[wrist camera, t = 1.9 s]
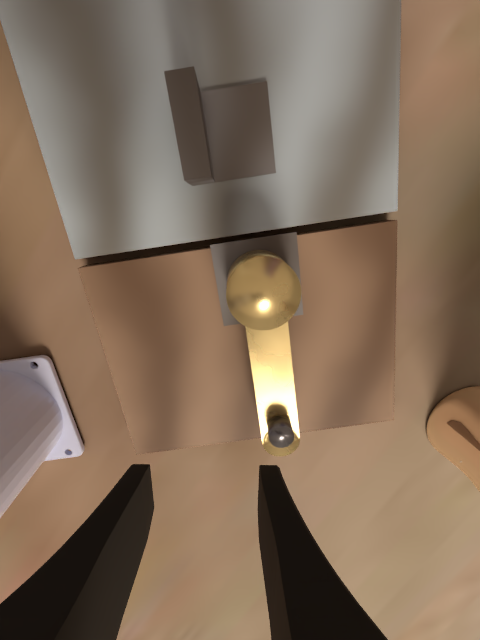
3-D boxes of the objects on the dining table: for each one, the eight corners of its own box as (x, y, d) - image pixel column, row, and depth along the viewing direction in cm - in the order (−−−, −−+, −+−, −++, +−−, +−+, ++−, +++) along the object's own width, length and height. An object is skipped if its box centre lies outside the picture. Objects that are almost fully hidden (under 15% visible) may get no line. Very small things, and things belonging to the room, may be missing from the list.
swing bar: (222, 254, 17) (220, 264, 14) (287, 245, 17) (299, 252, 14) (250, 433, 21) (254, 473, 18) (304, 426, 21) (317, 464, 18)
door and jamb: (140, 442, 23) (121, 490, 19) (5, -6, 15) (-78, -86, 11) (385, 409, 23) (418, 451, 19) (389, -73, 14) (449, -181, 10)
